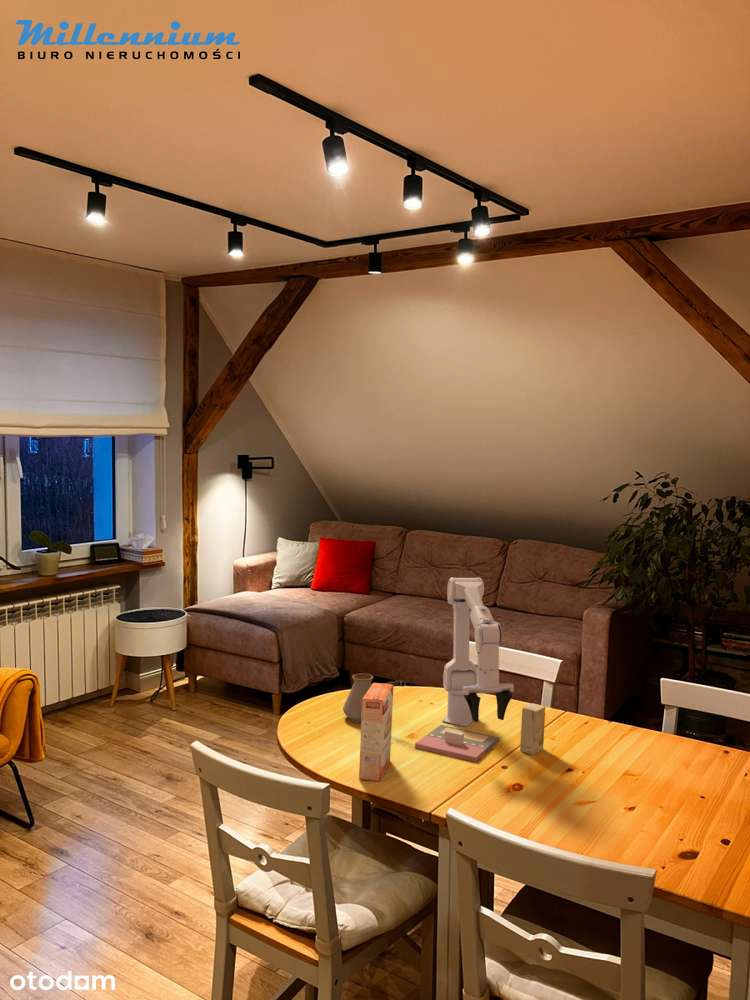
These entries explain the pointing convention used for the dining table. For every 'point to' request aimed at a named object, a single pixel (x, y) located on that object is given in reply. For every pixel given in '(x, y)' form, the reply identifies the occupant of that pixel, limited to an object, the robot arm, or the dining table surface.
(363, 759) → the cracker box
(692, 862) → the dining table surface
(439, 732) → the ticket
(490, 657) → the robot arm
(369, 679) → the coffee pot
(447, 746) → the pink board with handle
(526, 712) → the skincare box
